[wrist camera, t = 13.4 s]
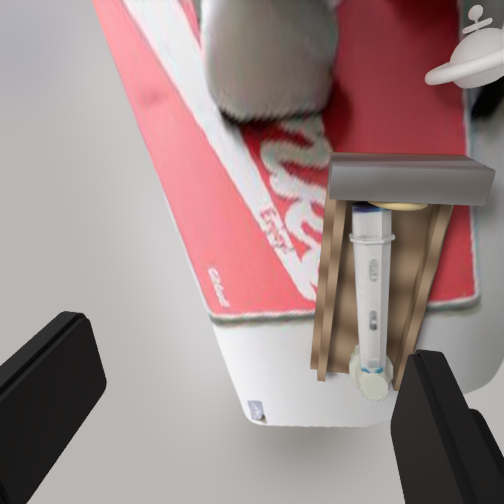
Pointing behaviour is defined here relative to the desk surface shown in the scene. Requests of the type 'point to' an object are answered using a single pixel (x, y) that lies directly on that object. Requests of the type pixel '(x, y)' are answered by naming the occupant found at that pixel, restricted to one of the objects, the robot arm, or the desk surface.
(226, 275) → the desk surface
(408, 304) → the fitting board
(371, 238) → the toothbrush head
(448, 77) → the ring around a ball
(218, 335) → the desk surface
